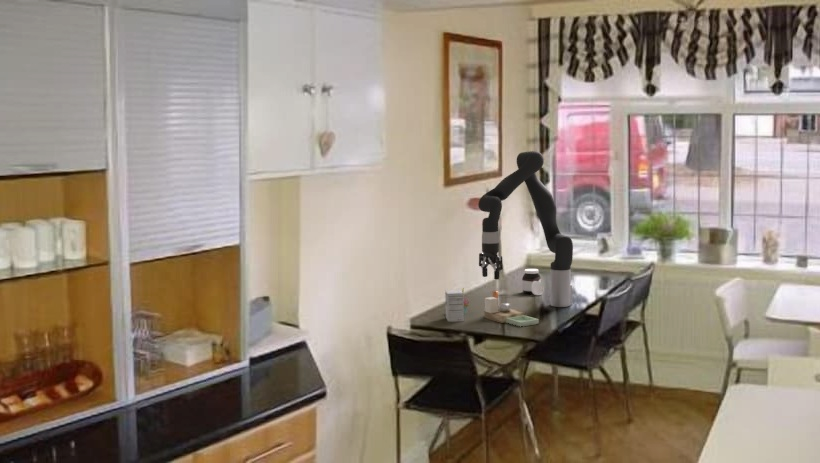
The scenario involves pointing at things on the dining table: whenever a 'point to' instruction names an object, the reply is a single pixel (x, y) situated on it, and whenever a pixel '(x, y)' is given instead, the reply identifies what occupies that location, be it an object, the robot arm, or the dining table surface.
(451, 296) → the supplement box
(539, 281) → the spread jar
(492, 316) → the plinth
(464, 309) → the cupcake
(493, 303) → the block
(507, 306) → the crank
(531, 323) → the tray
